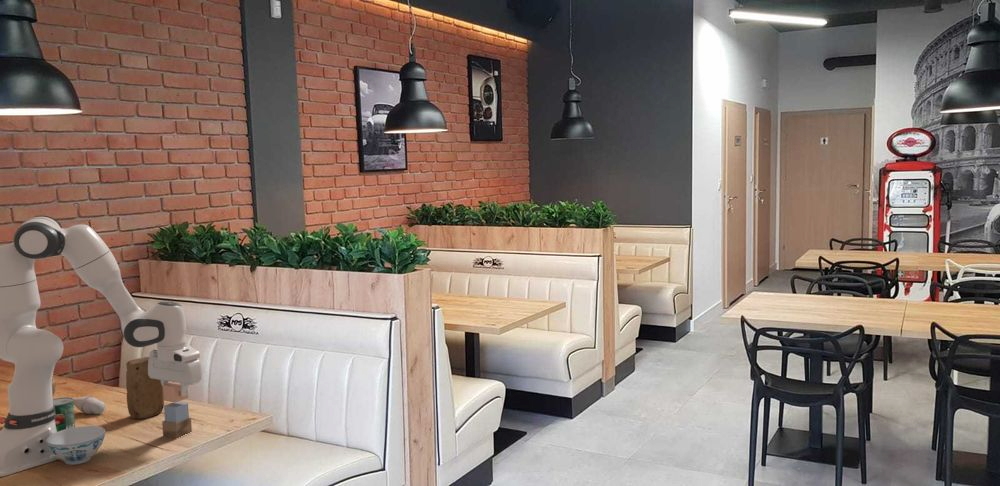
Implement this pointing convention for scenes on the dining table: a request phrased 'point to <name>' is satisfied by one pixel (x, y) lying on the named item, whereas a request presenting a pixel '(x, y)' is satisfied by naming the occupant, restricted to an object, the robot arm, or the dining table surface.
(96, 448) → the chinaware
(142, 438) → the dining table surface
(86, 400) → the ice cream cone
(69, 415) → the canned tomato
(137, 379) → the brown oval lump
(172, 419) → the tower mid
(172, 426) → the tower base
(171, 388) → the cube
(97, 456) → the dining table surface
